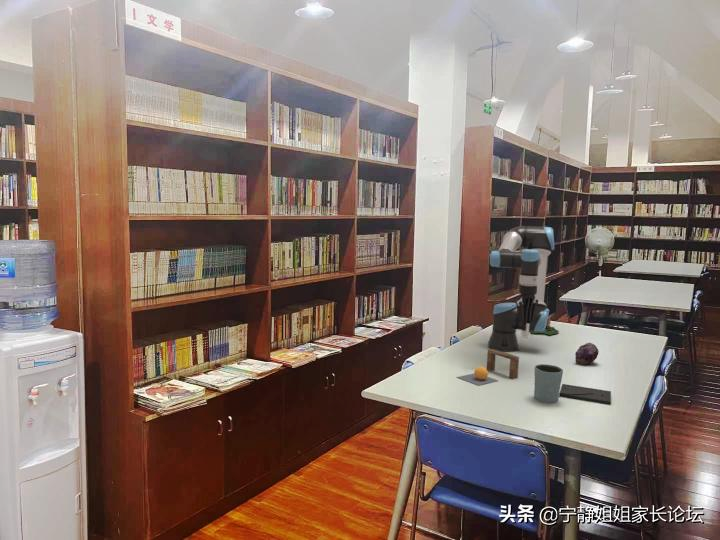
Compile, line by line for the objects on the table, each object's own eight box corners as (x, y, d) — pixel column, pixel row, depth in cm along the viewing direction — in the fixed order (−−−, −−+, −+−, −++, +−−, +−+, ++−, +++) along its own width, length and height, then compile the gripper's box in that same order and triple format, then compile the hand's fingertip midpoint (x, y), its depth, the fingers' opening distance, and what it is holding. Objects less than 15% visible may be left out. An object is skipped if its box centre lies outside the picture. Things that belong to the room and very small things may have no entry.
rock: (571, 366, 251) (595, 370, 244) (571, 348, 249) (595, 351, 242) (579, 357, 260) (602, 360, 253) (579, 339, 258) (602, 342, 251)
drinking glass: (540, 392, 208) (542, 362, 206) (565, 399, 201) (568, 368, 199) (527, 398, 201) (529, 367, 199) (553, 406, 193) (555, 373, 192)
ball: (471, 367, 222) (480, 363, 225) (472, 380, 222) (480, 376, 226) (481, 370, 217) (490, 366, 220) (482, 383, 218) (491, 379, 221)
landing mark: (456, 377, 224) (456, 377, 224) (476, 373, 230) (476, 372, 230) (478, 385, 214) (478, 385, 214) (498, 381, 221) (498, 380, 221)
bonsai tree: (517, 325, 333) (520, 274, 330) (559, 329, 324) (563, 277, 320) (510, 336, 301) (514, 281, 298) (556, 341, 292) (560, 284, 288)
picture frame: (559, 398, 204) (610, 406, 196) (559, 392, 204) (610, 401, 196) (562, 388, 216) (610, 396, 208) (562, 383, 216) (611, 390, 208)
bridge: (512, 379, 224) (514, 357, 223) (486, 370, 236) (487, 349, 235) (517, 377, 226) (519, 356, 225) (491, 369, 237) (492, 348, 236)
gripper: (525, 286, 228) (522, 341, 230) (544, 285, 235) (541, 337, 238) (511, 284, 234) (508, 337, 236) (530, 282, 241) (527, 334, 244)
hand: (524, 337), depth 237 cm, fingers closed
